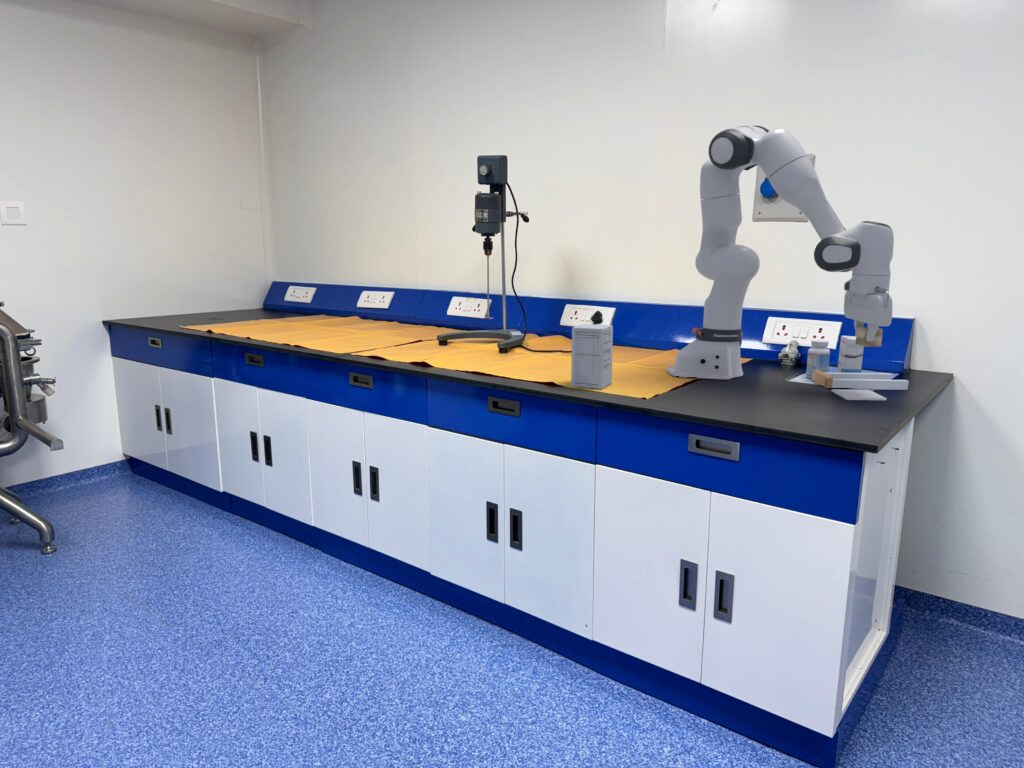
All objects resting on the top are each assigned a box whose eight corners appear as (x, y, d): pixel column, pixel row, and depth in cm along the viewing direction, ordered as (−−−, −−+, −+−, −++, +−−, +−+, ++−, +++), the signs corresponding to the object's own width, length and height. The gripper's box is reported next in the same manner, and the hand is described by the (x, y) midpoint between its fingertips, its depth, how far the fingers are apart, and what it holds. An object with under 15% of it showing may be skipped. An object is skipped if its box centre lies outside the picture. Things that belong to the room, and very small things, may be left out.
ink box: (861, 378, 208) (865, 339, 206) (843, 378, 209) (847, 339, 207) (853, 373, 216) (857, 335, 214) (836, 372, 217) (840, 335, 215)
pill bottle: (826, 376, 211) (830, 339, 209) (828, 380, 205) (832, 342, 203) (805, 375, 213) (808, 338, 211) (806, 379, 207) (809, 341, 205)
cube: (863, 346, 181) (865, 329, 180) (855, 344, 185) (857, 327, 184) (881, 346, 180) (882, 329, 179) (872, 344, 185) (874, 327, 184)
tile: (846, 399, 181) (846, 397, 181) (831, 391, 191) (831, 389, 191) (886, 400, 181) (886, 398, 180) (868, 392, 190) (869, 389, 190)
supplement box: (612, 383, 200) (614, 324, 197) (602, 389, 192) (604, 328, 188) (580, 380, 204) (582, 323, 200) (569, 386, 196) (571, 326, 192)
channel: (826, 388, 194) (827, 377, 194) (811, 380, 205) (812, 369, 204) (907, 389, 193) (909, 378, 192) (888, 381, 204) (890, 371, 203)
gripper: (902, 289, 169) (896, 345, 172) (865, 283, 189) (860, 333, 192) (875, 289, 170) (869, 345, 172) (841, 283, 189) (836, 333, 192)
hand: (864, 339), depth 182 cm, fingers closed on cube, 4 cm apart
